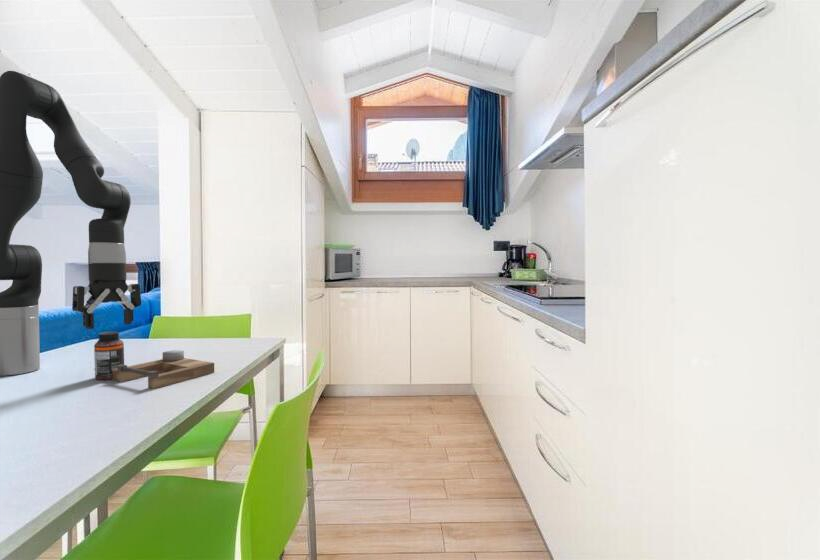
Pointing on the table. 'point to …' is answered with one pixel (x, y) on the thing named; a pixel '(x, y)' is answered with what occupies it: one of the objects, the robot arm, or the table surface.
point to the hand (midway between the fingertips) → (109, 326)
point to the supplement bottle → (108, 355)
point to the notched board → (172, 369)
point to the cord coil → (173, 355)
